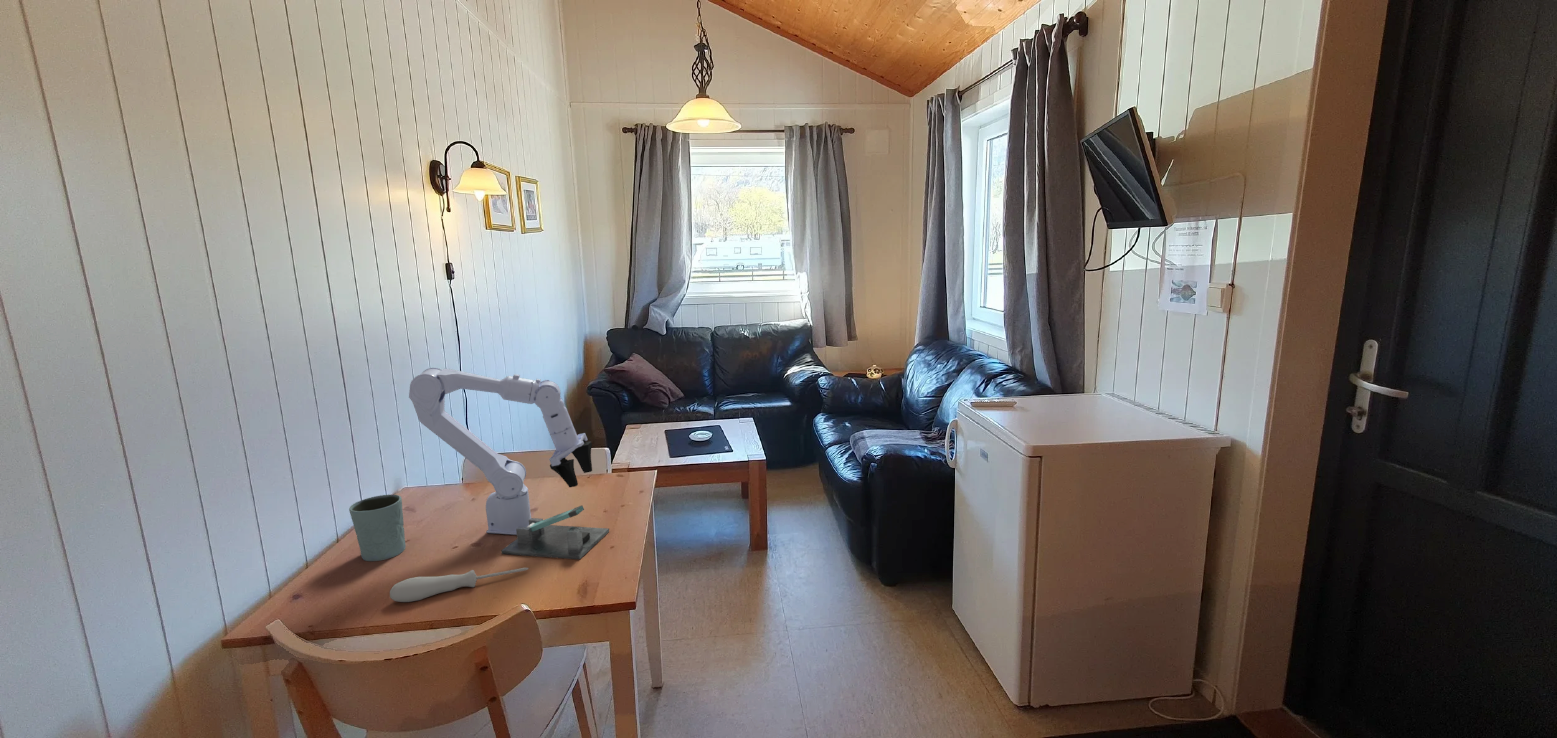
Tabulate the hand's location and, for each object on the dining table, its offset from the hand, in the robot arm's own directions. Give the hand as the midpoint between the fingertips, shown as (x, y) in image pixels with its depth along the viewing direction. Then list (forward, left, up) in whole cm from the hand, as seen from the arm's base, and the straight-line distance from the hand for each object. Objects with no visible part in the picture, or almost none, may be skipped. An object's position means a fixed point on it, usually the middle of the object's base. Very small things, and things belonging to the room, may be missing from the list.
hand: (581, 478), depth 159 cm
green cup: (-37, -24, -11) cm, 45 cm away
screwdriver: (-8, -35, -11) cm, 37 cm away
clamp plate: (0, -14, -10) cm, 17 cm away
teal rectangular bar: (0, -14, -6) cm, 15 cm away
